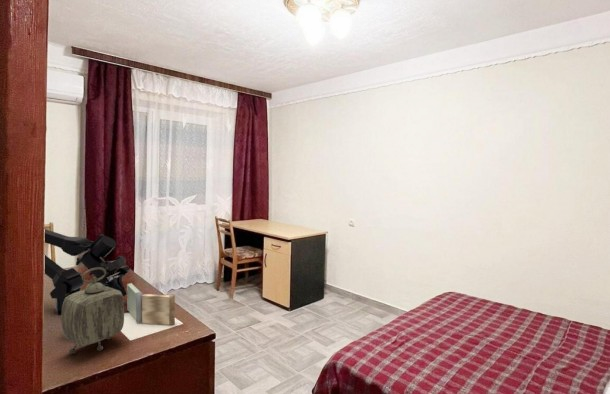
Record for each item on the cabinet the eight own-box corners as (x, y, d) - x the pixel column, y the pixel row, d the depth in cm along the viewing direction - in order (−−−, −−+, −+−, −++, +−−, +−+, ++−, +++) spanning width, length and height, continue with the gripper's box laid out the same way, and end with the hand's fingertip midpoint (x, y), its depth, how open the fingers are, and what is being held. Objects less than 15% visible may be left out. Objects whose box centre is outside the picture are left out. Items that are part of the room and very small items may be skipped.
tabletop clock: (111, 335, 111) (110, 260, 110) (128, 343, 107) (127, 265, 105) (62, 355, 99) (59, 271, 97) (78, 365, 94) (76, 277, 93)
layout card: (130, 341, 108) (130, 340, 108) (107, 318, 124) (107, 317, 124) (183, 324, 121) (183, 323, 121) (156, 305, 137) (156, 304, 137)
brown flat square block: (141, 323, 120) (141, 294, 119) (144, 321, 121) (144, 292, 121) (173, 325, 119) (173, 296, 118) (175, 323, 121) (175, 294, 120)
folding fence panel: (143, 321, 120) (142, 293, 120) (137, 323, 119) (136, 294, 118) (132, 308, 131) (131, 282, 131) (126, 310, 130) (126, 283, 129)
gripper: (93, 256, 118) (124, 289, 118) (125, 245, 136) (152, 273, 136) (72, 278, 119) (103, 310, 119) (107, 264, 137) (134, 291, 137)
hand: (125, 295), depth 128 cm, fingers closed
